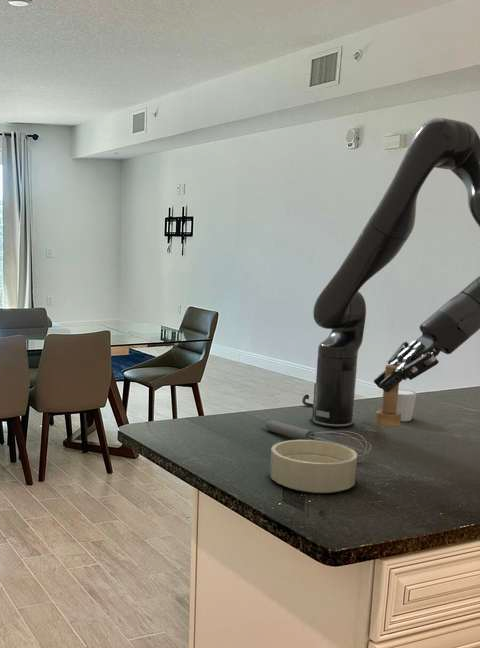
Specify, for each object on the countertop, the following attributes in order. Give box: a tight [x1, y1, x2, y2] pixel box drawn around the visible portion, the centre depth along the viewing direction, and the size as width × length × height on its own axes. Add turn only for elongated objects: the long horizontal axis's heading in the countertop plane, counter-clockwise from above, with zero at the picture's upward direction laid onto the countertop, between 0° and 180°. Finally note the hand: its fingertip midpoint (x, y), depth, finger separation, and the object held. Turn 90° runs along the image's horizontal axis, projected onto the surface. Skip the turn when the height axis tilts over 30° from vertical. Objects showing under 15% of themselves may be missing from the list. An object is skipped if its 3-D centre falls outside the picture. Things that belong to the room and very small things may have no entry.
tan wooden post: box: [374, 364, 402, 428], centre depth 134 cm, size 4×4×11 cm
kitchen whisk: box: [263, 419, 372, 463], centre depth 157 cm, size 6×34×6 cm, turn 22°
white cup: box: [396, 389, 417, 422], centre depth 180 cm, size 7×7×7 cm
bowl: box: [269, 439, 359, 494], centre depth 135 cm, size 16×16×6 cm
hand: (380, 386), depth 134 cm, fingers closed on tan wooden post, 2 cm apart
